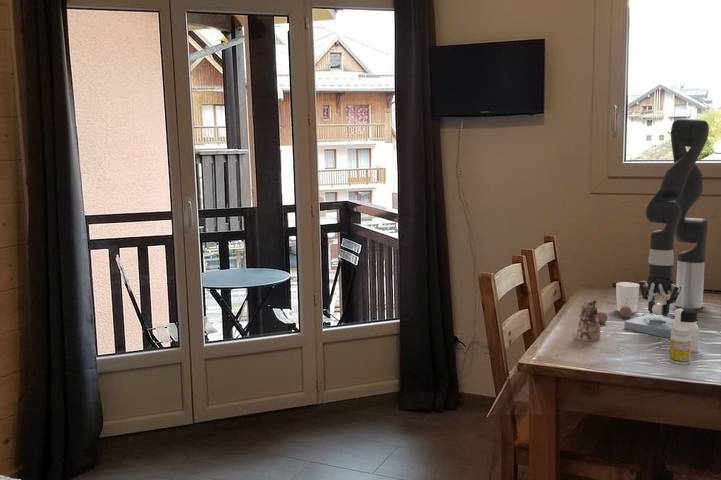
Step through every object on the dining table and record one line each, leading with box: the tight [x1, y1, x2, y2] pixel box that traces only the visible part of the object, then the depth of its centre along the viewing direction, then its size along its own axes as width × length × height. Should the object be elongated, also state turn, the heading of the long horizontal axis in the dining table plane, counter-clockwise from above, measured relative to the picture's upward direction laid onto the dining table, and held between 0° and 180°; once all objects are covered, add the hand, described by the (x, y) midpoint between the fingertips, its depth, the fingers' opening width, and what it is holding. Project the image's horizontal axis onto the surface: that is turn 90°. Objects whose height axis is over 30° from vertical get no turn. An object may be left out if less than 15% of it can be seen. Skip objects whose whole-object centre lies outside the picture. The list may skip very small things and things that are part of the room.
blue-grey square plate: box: [623, 313, 675, 339], centre depth 239 cm, size 15×15×2 cm
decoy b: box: [597, 311, 608, 324], centre depth 247 cm, size 4×4×4 cm
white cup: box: [615, 281, 640, 314], centre depth 264 cm, size 8×8×10 cm
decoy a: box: [619, 306, 633, 319], centre depth 255 cm, size 4×4×4 cm
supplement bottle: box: [669, 327, 692, 366], centre depth 203 cm, size 5×5×10 cm
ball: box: [652, 302, 663, 316], centre depth 238 cm, size 4×4×4 cm
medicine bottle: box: [669, 307, 700, 353], centre depth 216 cm, size 7×7×12 cm
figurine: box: [576, 300, 602, 342], centre depth 228 cm, size 7×7×12 cm
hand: (658, 313), depth 238 cm, fingers closed on ball, 4 cm apart
